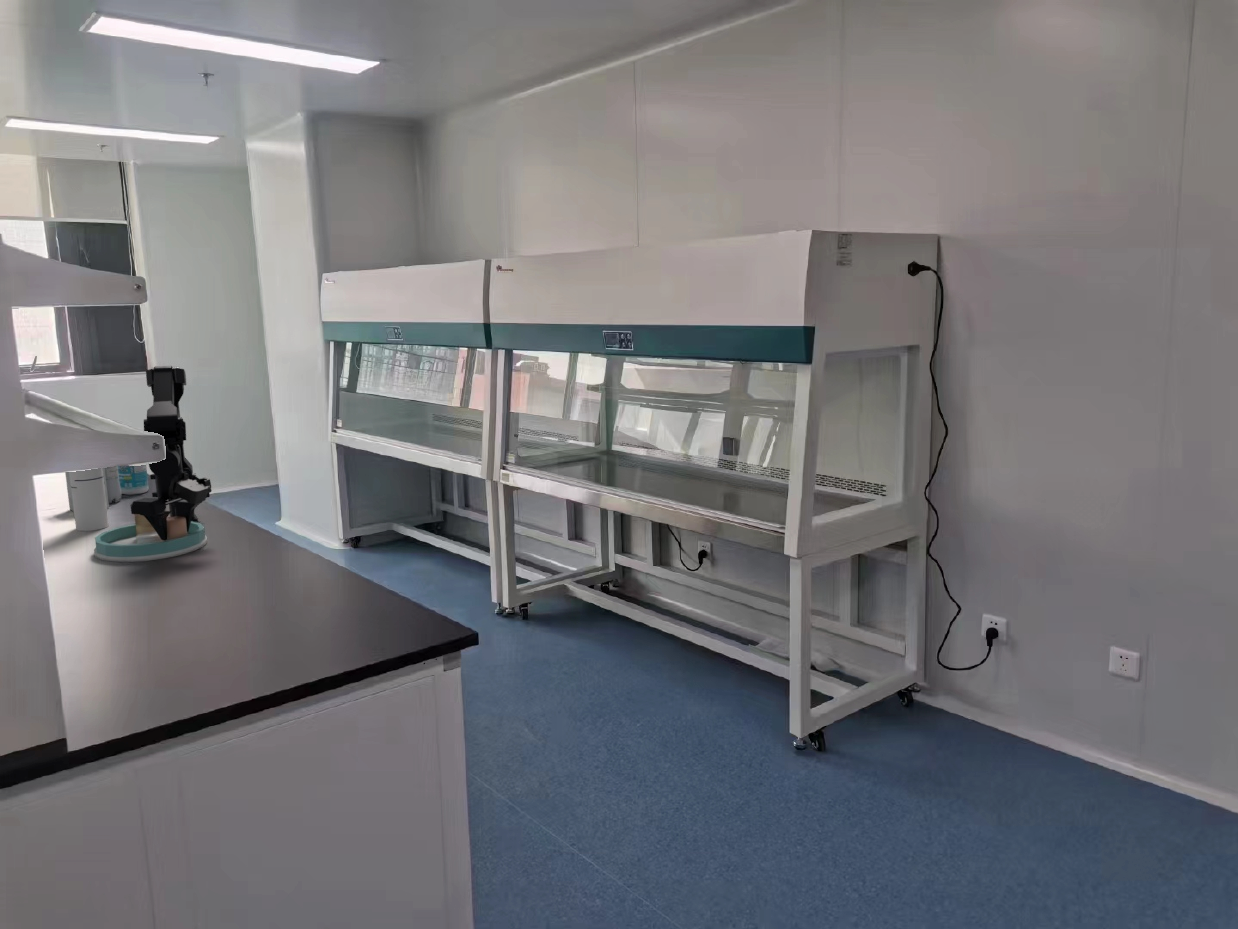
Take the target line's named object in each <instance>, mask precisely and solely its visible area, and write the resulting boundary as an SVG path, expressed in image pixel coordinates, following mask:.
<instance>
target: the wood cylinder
mask: <svg viewBox="0 0 1238 929" xmlns="http://www.w3.org/2000/svg"><path fill="white" fill-rule="evenodd" d="M133 516H134V523H135V525H136V534H137V535H138V534H141V533H146V532H153V531H155V529H154V528H153V527H152V525H151V524H150V523H149V521H148V520H147V519H146V518H145V517H144V516H143V515H140V514H133Z"/></svg>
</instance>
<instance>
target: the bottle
mask: <svg viewBox="0 0 1238 929" xmlns="http://www.w3.org/2000/svg"><path fill="white" fill-rule="evenodd" d="M105 475H106V485H107V493H108V502H109V504H112V502H113V501H114V503H117V502H120V501H121V499H122V493H121V488H120V483H119V475H118V466H114V467H107V468H105Z"/></svg>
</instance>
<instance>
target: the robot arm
mask: <svg viewBox="0 0 1238 929" xmlns="http://www.w3.org/2000/svg"><path fill="white" fill-rule="evenodd" d="M145 376H146V377H145V378H146V385H147V387H148V388H150V390H151V395H152V396H153V398H152V399H153V404H152V406H150V407H149V408H148V409H146V418H145V419H143V432H144V431H148V432H154V433H158V434H160V435H162V436H164V439H165V446H166V459H165V460H162V461H160V462H157V463H152V464H149V463H148V467H149V470H150V471H151V473H152V474H150V475H149V477H150V478H149V479H150V480H154V482H155V483H154V484H155V491H153V492H151V495H152V496H151V497H144V498H139V499H137V500H133V501H132V503H130V513H131V515H134V514H140V515H143V516H144V517H145V518H146V519H147V520H148V521H149V523H150V524H151V525H152V527H153V528H154V529H155V531H156V532H157V534H158V535H159V537H160V538H161V540H167V518H169V517H179V516H180V517H185V518H186V526H187V532H188V531H189V527H190V523H191V521H192V522H197V521H199V518H198V516H197V515H196V513H195V509H196V508H197V507H198V506H199V505H200V504H202V503H203V502H205V501H206V500H207V498H210V496H211V495H210V494H211V493H212V484H211V483H212V482H211V479H210V478H208V477H206V476H205V477H201V478H199V477H198V475H197V473H194V469H193V465H192V463H191V462H190V461H189V460H188V459H187V458H186V456H185V450H184V449H185V448H184V446H185V445H184V444H185V442H184V441H187V426H186V421H185V420H184V418H183V417H181V411H180V400H181V399H182V397H183V396H184V392H185V386H187V375H186V371H185V369H184V368H180V366H172V365H159V366H158V365H156V366H154V367H151V368H150V369H146V370H145ZM167 506H168V509H169V510H167Z"/></svg>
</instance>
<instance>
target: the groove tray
mask: <svg viewBox="0 0 1238 929" xmlns="http://www.w3.org/2000/svg"><path fill="white" fill-rule="evenodd" d="M205 533H206V532H205V526H204V525H203V524H202V523H200V522H197V521H191V523H190V527H189V531H188V532H187V536H184V537H181V538H177V539H172V540H168V541H163V540H161V538H160V537H159V535H158V534H157V532H156V531H153V532H146V533H141V534H138V535H137V534H136V525H135V524H129V525H123V526H118V527H116V528H112V529H110V530H109V529H108V530H106V531H104V532H101V533H99V534H98V535H97V536H96V537H94V541H95V548H94V550H93V552H94V557H95V558H96V559H98V560H101V561H105V562H111V563H113V562H115V563H134V562H136V563H137V562H146V561H148V562H149V561H150V562H151V561H154V560H155V561H156V560H162V559H167V558H172V557H177V556H181V555H186V554H189V553H192V552H195V551H197V550H199V549H201V548H203V547H204V546H206V544H207V543H208V539H207V538H208V537H207V535H206V534H205Z"/></svg>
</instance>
